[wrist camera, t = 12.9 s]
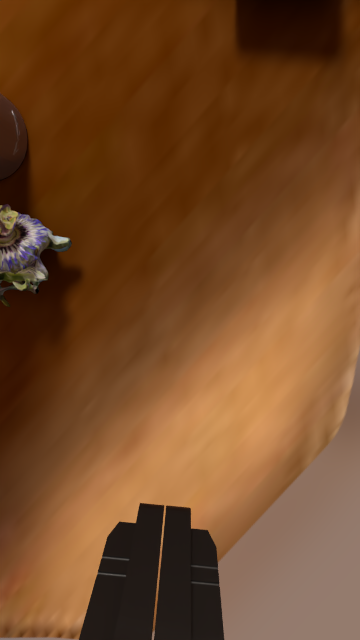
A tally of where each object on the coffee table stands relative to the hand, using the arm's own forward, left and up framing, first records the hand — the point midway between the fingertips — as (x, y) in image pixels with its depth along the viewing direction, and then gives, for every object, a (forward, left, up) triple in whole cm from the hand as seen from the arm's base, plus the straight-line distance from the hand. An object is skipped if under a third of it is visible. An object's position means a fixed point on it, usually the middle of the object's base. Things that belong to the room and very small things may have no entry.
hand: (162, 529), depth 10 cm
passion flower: (-20, +5, -32) cm, 38 cm away
